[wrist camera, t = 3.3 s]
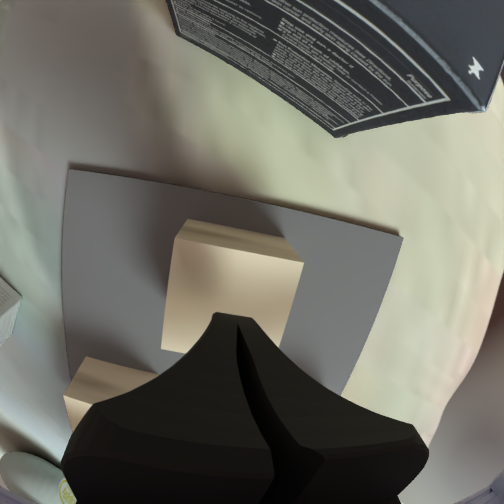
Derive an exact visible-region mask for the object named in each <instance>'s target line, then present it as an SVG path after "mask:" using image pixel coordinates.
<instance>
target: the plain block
mask: <svg viewBox="0 0 504 504" xmlns="http://www.w3.org/2000/svg"><path fill="white" fill-rule="evenodd" d="M303 265H304V262H303V261H302V259H301V258H300V257H299V255H298V254H297V253H296V252H295V250H294V249H293V248H292V246H291V245H290V244H289V242H288V241H287V240H286V239H285V238H283V237H278V236H273V235H268V234H263V233H258V232H253V231H248V230H243V229H238V228H233V227H228V226H223V225H218V224H213V223H208V222H203V221H197V220H192V219H187V220H186V222H185V223H184V225H183V226H182V228H181V229H180V231H179V232H178V234H177V235H176V237H175V240H174V246H173V253H172V259H171V266H170V273H169V281H168V289H167V297H166V305H165V314H164V323H163V333H162V343H161V349H164V350H169V351H174V352H180V353H185V354H186V353H187V352H188V351H189V350H190V349H191V348H192V346H193V345H194V344H195V343H196V342H197V341H198V340H199V338H200V337H201V336H202V334H203V333H204V331H205V330H206V328H207V327H208V325H209V323H210V321H211V319H212V314H213V313H215V312H221V313H227V314H233V315H239V316H245V317H251V318H253V319H254V320H255V321H256V322H257V323H258V325H259V326H260V327H261V328H262V330H263V331H264V332H265V333H266V334H267V335H268V337H269V338H270V339H271V340H272V341H273V342H274V343H275V344H276V346H277V347H278V348H279V345H280V342H281V339H282V335H283V332H284V329H285V326H286V323H287V319H288V316H289V313H290V310H291V306H292V303H293V300H294V296H295V293H296V289H297V286H298V283H299V279H300V276H301V272H302V269H303Z"/></svg>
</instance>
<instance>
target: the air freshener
mask: <svg viewBox="0 0 504 504" xmlns="http://www.w3.org/2000/svg"><path fill="white" fill-rule="evenodd" d="M0 474H1V477H2V479H3V481H4V483H5V484H6V486H7V488H8V489H9V490H10V491H11V492H12V493H14V494H16V495H18V496H20V497H22V498H24V499H26V500H28V501H30V502H32V503H34V504H76V501H77V500H76V498H75V496H74V494H73V492H72V491H71V489H70V487H69V485H68V483H67V481H66V479H65V477H64V475H63V472H62V470H61V469H59V468H57V467H56V466H54V465H53V464H51V463H50V462H48V461H46V460H44V459H42V458H40V457H38V456H35V455H32V454H29V453H25V452H9V453H6V454H4V455H3V456H2V458H1V459H0Z"/></svg>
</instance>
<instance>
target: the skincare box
mask: <svg viewBox="0 0 504 504" xmlns="http://www.w3.org/2000/svg"><path fill="white" fill-rule="evenodd" d="M21 300H22V296H21V295H19V294H18V293H17V292H16V291H15V290H14V289H13V288H11V287H10V286H9V285H8V284H7V283H6V282H5V281H4V280H3V279H2V278H1V277H0V346H1V345H2V344H3V343H4V342H5V341H6V340H7V339H8V338H9V337H10V336H11V334H12V332H13V328H14V324H15V320H16V316H17V313H18V310H19V307H20V304H21Z"/></svg>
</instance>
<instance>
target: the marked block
mask: <svg viewBox="0 0 504 504" xmlns="http://www.w3.org/2000/svg"><path fill="white" fill-rule="evenodd" d="M157 376H159V374H155V373H150V372H146V371H141V370H137V369H133V368H128V367H124V366H120V365H116V364H112V363H109V362H105V361H101V360H98V359H94V358H91V357H87V356H86V357H85V359H84V361H83V362H82V364H81V366H80V367H79V369H78V371H77V372H76V374H75V376H74V377H73V379H72V381H71V382H70V384H69V386H68V388H67V389H66V391H65V393H64V395H63V396H64V401H65V405H66V409H67V413H68V417H69V421H70V425H71V428H72V432H74V430H75V428H76V427H77V425H78V424H79V422H80V421H81V419H82V418H83V416H84V415H85V414H86V412H87V411H88V410H89V408H90V407H91V406H92V405H93V404H94V403H97V402H100V401H104V400H107V399H110V398H113V397H116V396H118V395H121V394H124V393H127V392H129V391H131V390H133V389H135V388H137V387H139V386H141V385H143V384H145V383H147V382H149V381H151V380H152V379H154V378H155V377H157Z"/></svg>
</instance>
